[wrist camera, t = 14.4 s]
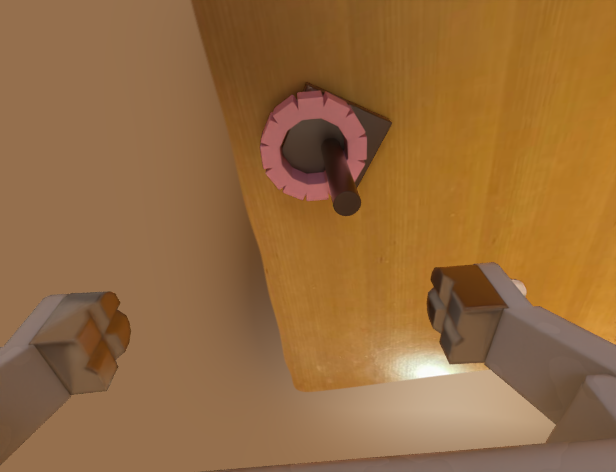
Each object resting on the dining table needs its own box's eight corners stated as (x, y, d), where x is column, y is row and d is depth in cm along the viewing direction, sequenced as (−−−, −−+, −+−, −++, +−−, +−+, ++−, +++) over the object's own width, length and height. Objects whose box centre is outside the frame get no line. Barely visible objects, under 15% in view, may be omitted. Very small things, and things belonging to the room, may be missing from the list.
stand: (273, 165, 38) (266, 233, 26) (306, 81, 33) (314, 120, 22) (348, 193, 40) (372, 268, 29) (388, 118, 35) (435, 171, 24)
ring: (270, 192, 38) (269, 204, 35) (255, 96, 32) (252, 103, 30) (361, 184, 38) (366, 196, 35) (362, 86, 32) (367, 92, 30)
